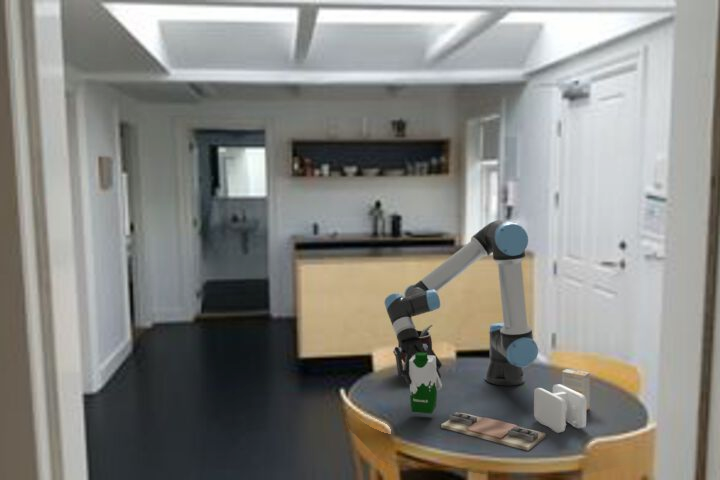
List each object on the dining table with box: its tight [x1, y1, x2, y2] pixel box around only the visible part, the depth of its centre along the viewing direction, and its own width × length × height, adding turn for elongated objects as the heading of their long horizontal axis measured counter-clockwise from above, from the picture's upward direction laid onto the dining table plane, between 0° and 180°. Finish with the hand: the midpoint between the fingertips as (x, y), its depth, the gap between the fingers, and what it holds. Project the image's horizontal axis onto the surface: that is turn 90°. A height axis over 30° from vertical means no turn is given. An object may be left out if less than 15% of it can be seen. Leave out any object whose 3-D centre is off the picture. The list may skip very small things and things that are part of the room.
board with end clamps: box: [440, 411, 546, 452], centre depth 202 cm, size 30×13×3 cm, turn 51°
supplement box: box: [561, 368, 591, 412], centre depth 220 cm, size 8×5×13 cm, turn 45°
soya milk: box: [409, 352, 438, 415], centre depth 214 cm, size 9×9×20 cm
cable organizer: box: [533, 383, 587, 434], centre depth 206 cm, size 15×11×12 cm
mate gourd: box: [397, 324, 433, 377], centre depth 262 cm, size 16×14×20 cm
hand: (427, 389), depth 211 cm, fingers closed on soya milk, 9 cm apart
